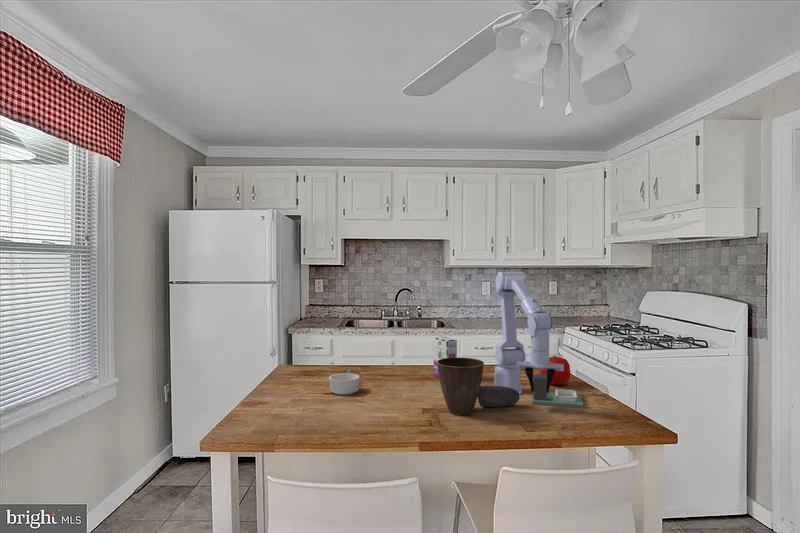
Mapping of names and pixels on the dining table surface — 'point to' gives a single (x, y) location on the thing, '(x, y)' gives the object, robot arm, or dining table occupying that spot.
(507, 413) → the dining table surface
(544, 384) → the plug
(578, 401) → the board
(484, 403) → the perforated stone tool
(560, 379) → the tomato
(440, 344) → the candy bar box
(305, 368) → the dining table surface
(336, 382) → the saucepan
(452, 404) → the plant pot
